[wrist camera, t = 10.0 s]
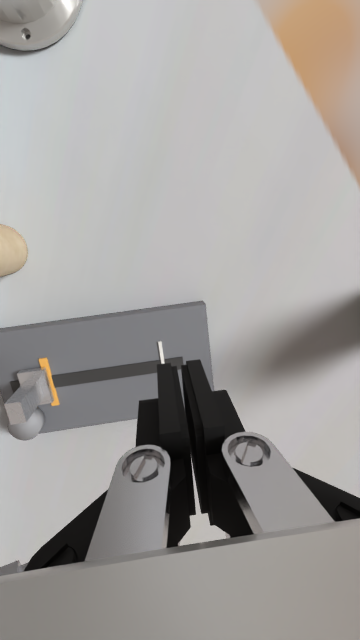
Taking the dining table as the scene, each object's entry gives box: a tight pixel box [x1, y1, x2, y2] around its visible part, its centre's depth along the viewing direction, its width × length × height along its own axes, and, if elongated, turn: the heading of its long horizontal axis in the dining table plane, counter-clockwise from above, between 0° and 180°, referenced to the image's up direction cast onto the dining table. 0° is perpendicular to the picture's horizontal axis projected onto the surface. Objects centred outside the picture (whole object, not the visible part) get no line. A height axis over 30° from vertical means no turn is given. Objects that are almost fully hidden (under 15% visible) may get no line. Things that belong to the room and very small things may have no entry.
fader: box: [4, 367, 54, 425], centre depth 32 cm, size 4×3×6 cm
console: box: [0, 301, 214, 440], centre depth 36 cm, size 14×26×4 cm, turn 97°
